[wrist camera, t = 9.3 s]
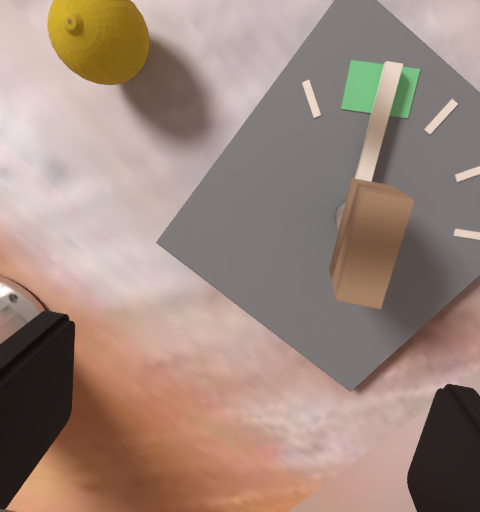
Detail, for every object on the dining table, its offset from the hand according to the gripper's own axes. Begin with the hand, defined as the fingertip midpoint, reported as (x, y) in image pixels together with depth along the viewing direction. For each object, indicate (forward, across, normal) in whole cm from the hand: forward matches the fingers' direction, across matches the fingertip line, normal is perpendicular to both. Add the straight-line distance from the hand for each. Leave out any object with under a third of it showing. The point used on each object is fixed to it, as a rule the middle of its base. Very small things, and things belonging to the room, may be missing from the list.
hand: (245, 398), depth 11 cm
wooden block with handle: (+21, -6, -5) cm, 22 cm away
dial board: (+22, -6, -2) cm, 23 cm away
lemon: (+23, +12, -10) cm, 28 cm away
